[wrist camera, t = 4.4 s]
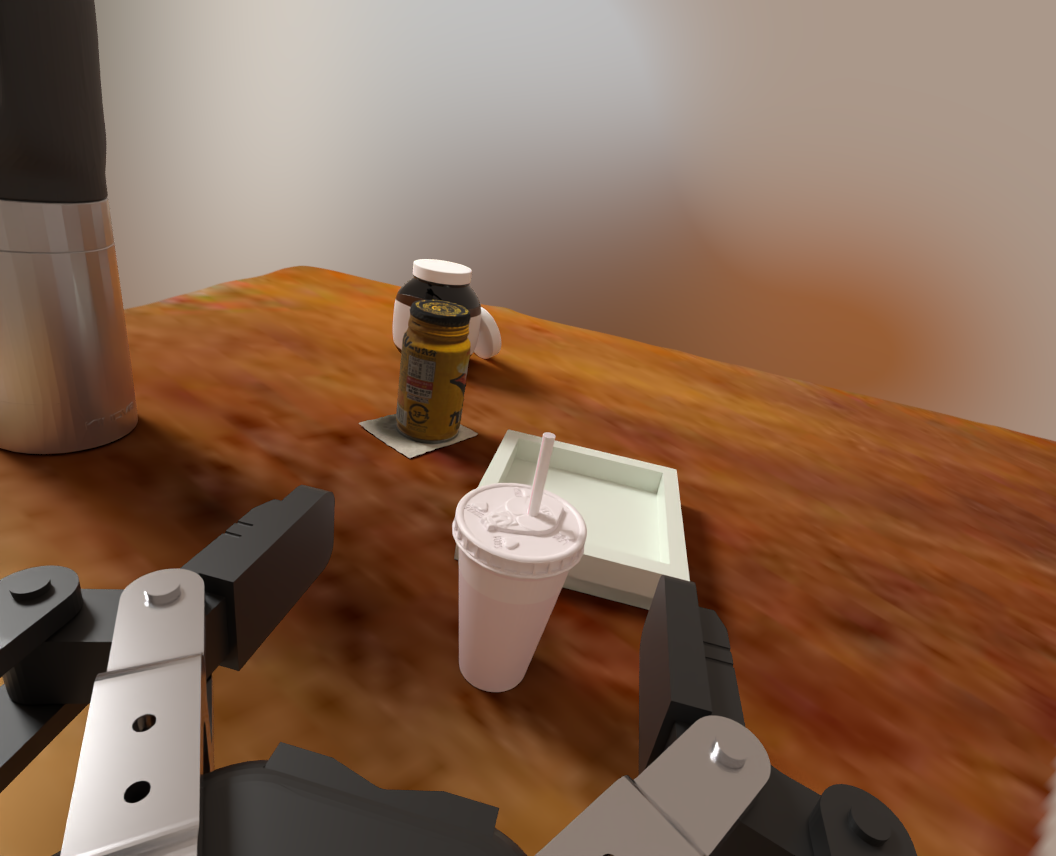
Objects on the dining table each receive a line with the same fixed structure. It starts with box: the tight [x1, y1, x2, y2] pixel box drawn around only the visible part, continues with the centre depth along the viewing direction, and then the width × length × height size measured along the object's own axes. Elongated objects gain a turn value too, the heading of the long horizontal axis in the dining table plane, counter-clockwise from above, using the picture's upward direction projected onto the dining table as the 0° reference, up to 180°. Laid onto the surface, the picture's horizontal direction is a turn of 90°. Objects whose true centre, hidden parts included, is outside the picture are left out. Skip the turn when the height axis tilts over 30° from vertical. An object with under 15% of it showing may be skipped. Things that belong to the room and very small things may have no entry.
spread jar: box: [393, 259, 501, 359], centre depth 71 cm, size 12×11×12 cm
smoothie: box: [452, 433, 587, 692], centre depth 28 cm, size 6×6×14 cm
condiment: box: [359, 300, 478, 458], centre depth 51 cm, size 7×8×12 cm
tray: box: [454, 430, 690, 610], centre depth 44 cm, size 15×15×3 cm
